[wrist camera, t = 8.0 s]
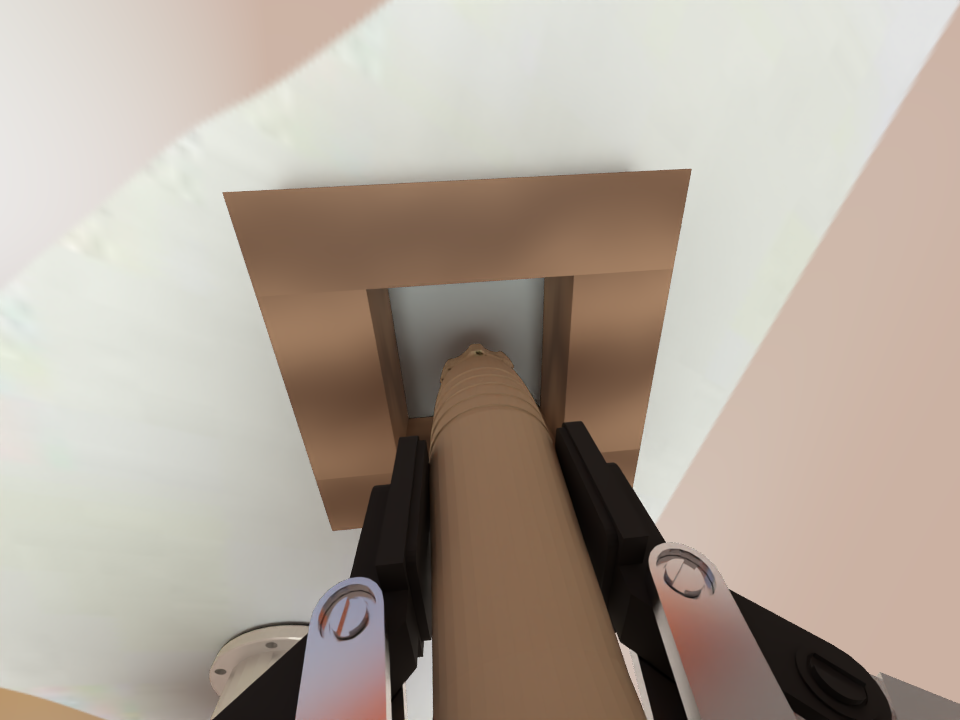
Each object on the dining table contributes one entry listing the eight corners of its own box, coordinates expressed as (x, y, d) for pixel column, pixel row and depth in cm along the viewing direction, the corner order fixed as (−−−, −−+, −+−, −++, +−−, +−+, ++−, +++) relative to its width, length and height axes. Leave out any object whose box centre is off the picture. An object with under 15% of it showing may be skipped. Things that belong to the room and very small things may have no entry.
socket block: (598, 446, 24) (630, 499, 20) (352, 470, 23) (332, 531, 19) (631, 173, 17) (691, 168, 13) (279, 191, 16) (222, 192, 12)
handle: (555, 329, 16) (1195, 1157, 2) (496, 440, 18) (642, 1168, 5) (453, 289, 15) (539, 1496, 1) (404, 413, 17) (245, 1277, 4)
